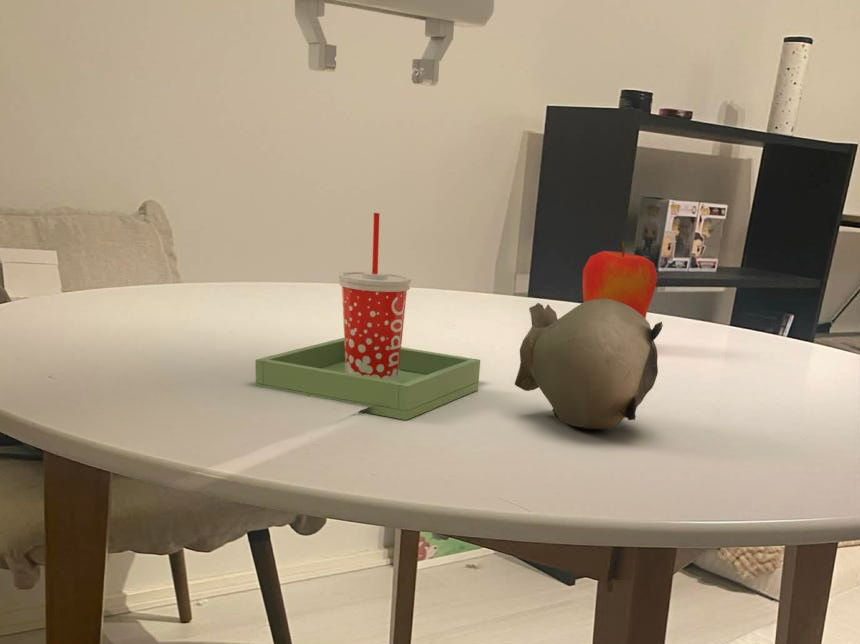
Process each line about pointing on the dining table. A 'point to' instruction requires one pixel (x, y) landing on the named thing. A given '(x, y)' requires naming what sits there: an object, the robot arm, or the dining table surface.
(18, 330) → the dining table surface
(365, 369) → the beverage cup
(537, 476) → the dining table surface
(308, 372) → the drinks tray
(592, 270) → the apple
